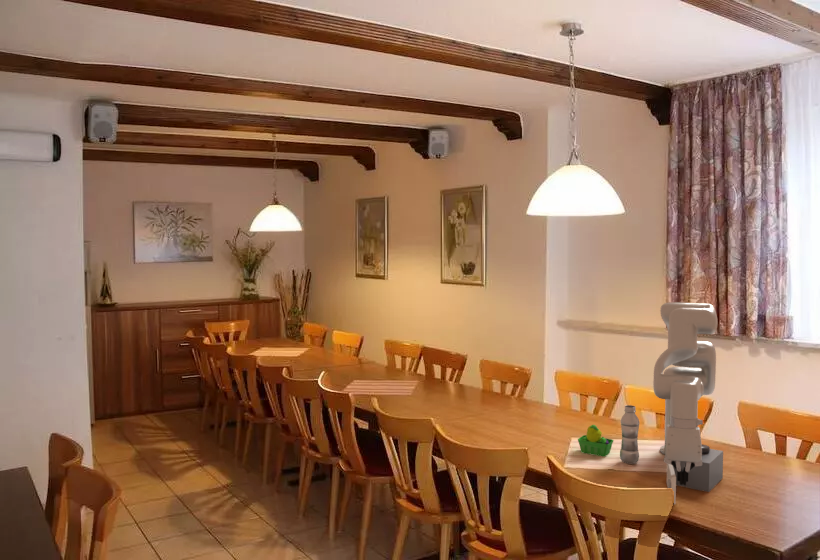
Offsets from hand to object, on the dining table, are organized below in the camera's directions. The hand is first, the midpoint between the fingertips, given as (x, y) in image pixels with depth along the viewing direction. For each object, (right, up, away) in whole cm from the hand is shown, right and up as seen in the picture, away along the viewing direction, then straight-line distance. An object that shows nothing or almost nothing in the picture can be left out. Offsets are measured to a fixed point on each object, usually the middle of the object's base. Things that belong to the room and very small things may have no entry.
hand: (682, 483), depth 207 cm
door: (-1, -5, +7) cm, 8 cm away
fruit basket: (-13, -3, +48) cm, 50 cm away
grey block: (+12, -5, +19) cm, 22 cm away
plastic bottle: (-4, -4, +37) cm, 38 cm away
